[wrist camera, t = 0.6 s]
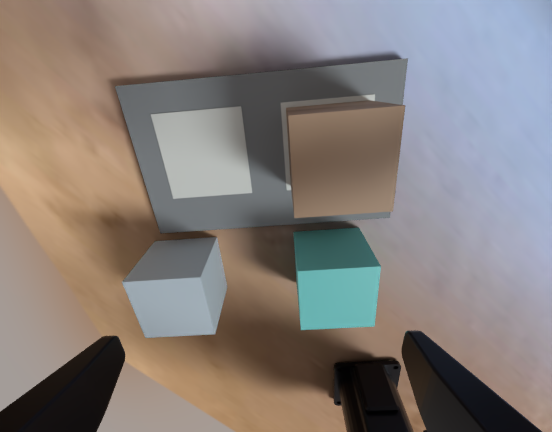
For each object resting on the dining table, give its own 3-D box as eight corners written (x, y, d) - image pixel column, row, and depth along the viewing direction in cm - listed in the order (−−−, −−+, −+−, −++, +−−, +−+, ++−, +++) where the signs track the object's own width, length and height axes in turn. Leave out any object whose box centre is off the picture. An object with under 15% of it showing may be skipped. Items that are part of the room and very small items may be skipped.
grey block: (227, 286, 23) (215, 334, 19) (171, 289, 23) (145, 338, 19) (217, 236, 21) (200, 277, 17) (155, 240, 21) (121, 282, 17)
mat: (386, 214, 20) (390, 218, 19) (163, 229, 21) (160, 233, 20) (403, 59, 16) (408, 58, 15) (120, 86, 16) (114, 86, 16)
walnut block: (364, 180, 18) (392, 211, 14) (290, 186, 18) (294, 218, 14) (369, 100, 16) (405, 105, 11) (285, 107, 16) (288, 115, 12)
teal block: (355, 278, 23) (374, 326, 18) (296, 282, 23) (300, 330, 18) (358, 227, 21) (380, 266, 16) (293, 231, 21) (297, 271, 16)
